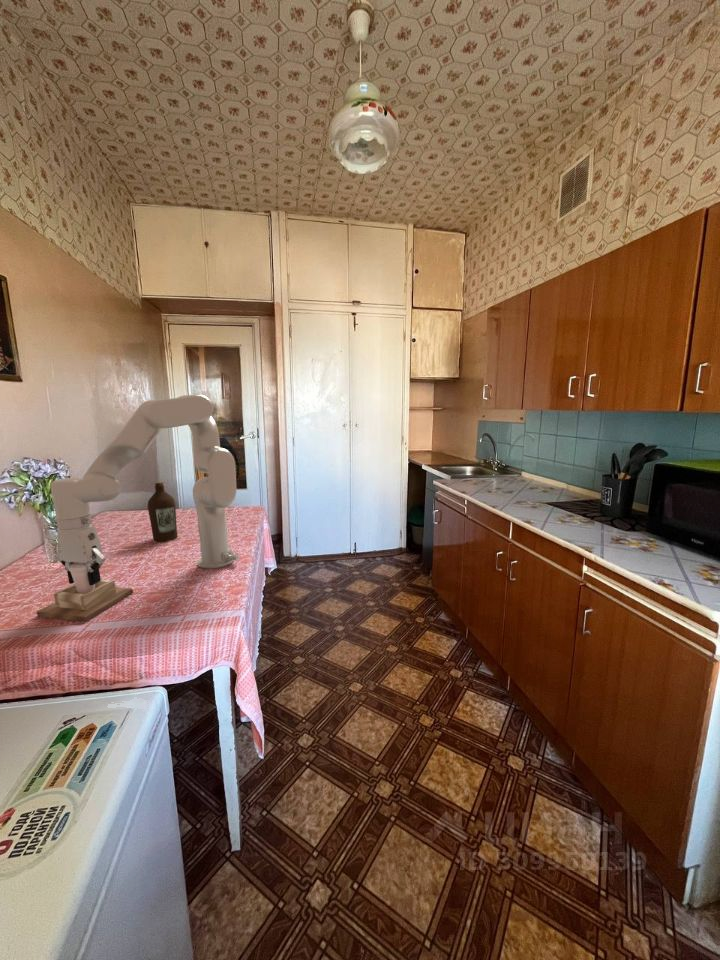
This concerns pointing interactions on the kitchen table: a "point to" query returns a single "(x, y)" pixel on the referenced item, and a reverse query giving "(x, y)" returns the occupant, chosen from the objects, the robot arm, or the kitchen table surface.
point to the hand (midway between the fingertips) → (85, 581)
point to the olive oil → (162, 515)
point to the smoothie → (81, 577)
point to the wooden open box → (84, 601)
